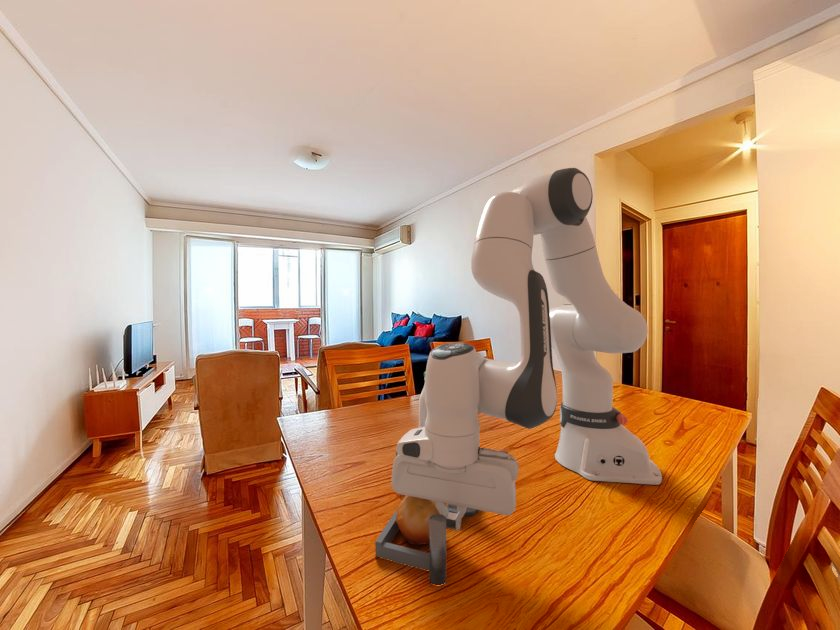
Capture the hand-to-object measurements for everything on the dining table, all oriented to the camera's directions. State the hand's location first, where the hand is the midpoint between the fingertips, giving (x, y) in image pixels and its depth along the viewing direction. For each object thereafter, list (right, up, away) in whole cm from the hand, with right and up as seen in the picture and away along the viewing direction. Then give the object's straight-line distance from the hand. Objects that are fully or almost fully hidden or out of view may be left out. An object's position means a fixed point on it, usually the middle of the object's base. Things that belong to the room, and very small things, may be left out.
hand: (451, 526), depth 55 cm
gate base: (+3, -3, +10) cm, 11 cm away
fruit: (-5, -3, +2) cm, 7 cm away
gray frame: (-5, -3, +2) cm, 6 cm away
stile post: (-3, -3, -7) cm, 8 cm away
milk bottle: (-2, -2, +42) cm, 42 cm away
